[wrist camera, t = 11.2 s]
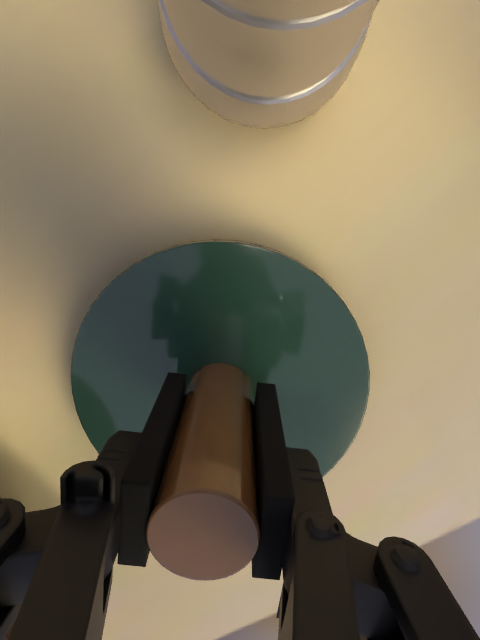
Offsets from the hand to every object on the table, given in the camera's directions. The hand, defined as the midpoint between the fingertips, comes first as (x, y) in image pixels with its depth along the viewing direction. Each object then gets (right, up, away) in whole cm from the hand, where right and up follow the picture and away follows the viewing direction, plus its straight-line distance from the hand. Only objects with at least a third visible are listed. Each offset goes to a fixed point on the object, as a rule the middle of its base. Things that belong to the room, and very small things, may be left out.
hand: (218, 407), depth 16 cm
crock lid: (0, +1, +2) cm, 2 cm away
